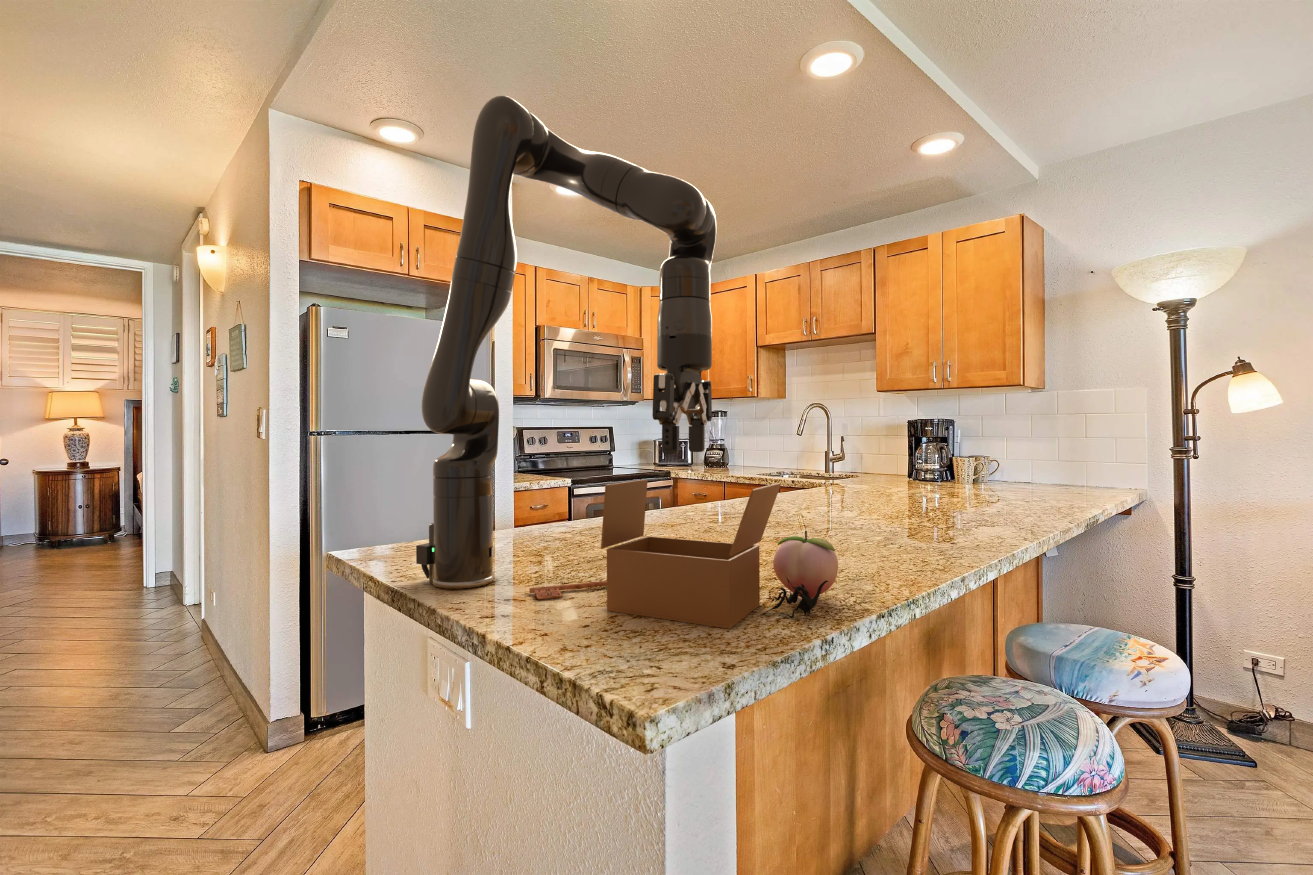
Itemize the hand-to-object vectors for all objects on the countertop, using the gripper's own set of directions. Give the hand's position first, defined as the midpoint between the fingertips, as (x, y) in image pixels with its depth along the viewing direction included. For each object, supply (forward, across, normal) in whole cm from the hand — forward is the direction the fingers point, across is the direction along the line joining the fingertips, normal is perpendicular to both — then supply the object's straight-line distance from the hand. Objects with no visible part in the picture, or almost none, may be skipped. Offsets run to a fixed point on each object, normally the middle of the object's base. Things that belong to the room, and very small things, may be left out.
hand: (684, 452), depth 85 cm
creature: (+22, -4, +14) cm, 26 cm away
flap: (+8, 0, +10) cm, 13 cm away
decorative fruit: (+22, -12, +14) cm, 28 cm away
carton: (+21, 0, 0) cm, 21 cm away
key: (+22, -1, -18) cm, 28 cm away
